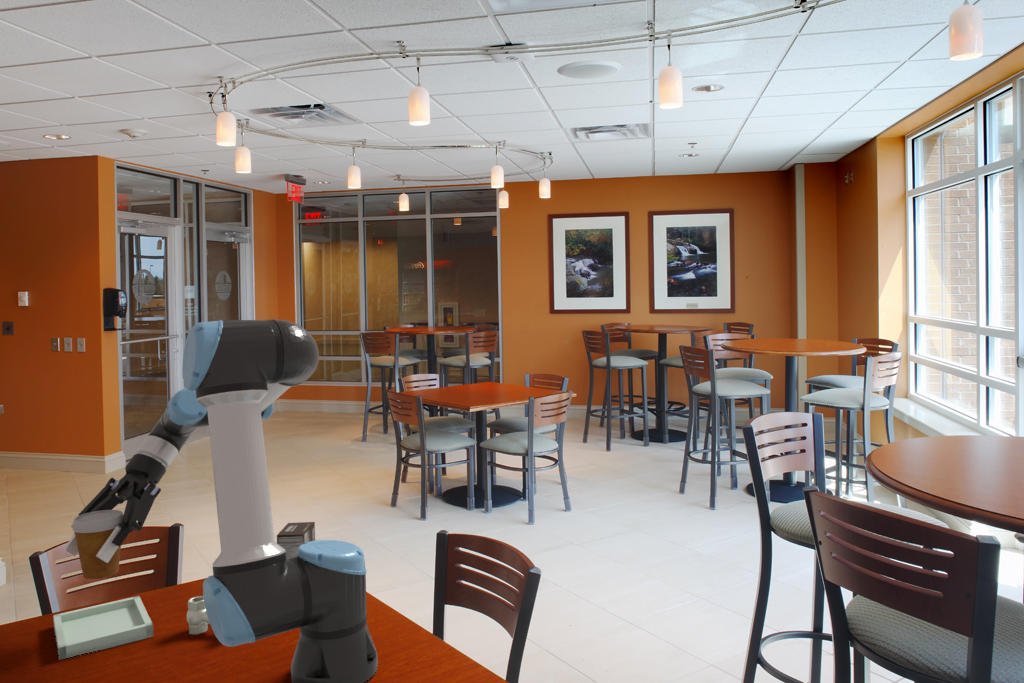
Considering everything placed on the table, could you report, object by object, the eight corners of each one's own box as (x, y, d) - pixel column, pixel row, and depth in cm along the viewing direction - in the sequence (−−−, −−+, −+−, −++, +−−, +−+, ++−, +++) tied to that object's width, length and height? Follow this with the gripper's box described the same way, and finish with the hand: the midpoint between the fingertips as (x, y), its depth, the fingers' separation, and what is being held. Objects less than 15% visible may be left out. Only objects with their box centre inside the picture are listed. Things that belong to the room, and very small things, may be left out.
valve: (178, 637, 141) (232, 642, 139) (177, 605, 140) (231, 609, 138) (199, 623, 147) (251, 627, 145) (198, 592, 147) (250, 595, 145)
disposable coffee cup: (138, 566, 147) (135, 509, 147) (104, 583, 138) (101, 524, 137) (98, 563, 149) (95, 508, 148) (62, 581, 140) (59, 522, 139)
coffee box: (290, 589, 164) (287, 521, 163) (317, 588, 164) (315, 521, 163) (278, 606, 155) (276, 534, 154) (307, 605, 155) (305, 533, 154)
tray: (153, 636, 141) (152, 624, 141) (59, 661, 132) (58, 648, 132) (139, 606, 156) (139, 595, 156) (53, 626, 146) (53, 615, 146)
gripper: (198, 474, 152) (135, 572, 138) (128, 467, 161) (63, 557, 147) (176, 455, 147) (109, 554, 133) (105, 448, 156) (36, 540, 142)
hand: (85, 556), depth 140 cm, fingers closed on disposable coffee cup, 9 cm apart
